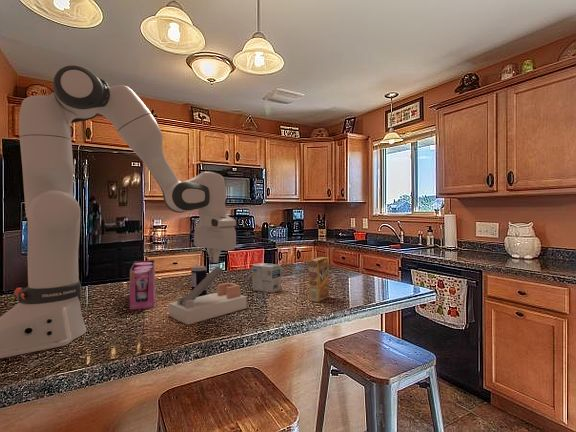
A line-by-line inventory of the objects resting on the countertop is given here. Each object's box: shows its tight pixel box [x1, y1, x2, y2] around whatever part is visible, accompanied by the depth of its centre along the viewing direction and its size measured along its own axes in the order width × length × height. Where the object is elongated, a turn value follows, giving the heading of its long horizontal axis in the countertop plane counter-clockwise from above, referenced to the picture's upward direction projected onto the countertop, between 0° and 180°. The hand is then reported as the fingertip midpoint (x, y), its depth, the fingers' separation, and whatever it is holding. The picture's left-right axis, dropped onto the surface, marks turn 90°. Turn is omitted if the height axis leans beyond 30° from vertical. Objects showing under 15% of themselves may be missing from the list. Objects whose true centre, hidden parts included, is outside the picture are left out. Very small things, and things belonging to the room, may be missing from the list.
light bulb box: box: [251, 262, 282, 294], centre depth 137 cm, size 11×7×11 cm, turn 58°
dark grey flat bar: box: [180, 266, 224, 306], centre depth 106 cm, size 16×4×1 cm
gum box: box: [129, 259, 156, 311], centre depth 122 cm, size 24×8×14 cm, turn 21°
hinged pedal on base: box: [168, 282, 247, 325], centre depth 108 cm, size 22×12×8 cm, turn 136°
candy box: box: [308, 256, 330, 303], centre depth 123 cm, size 9×4×15 cm, turn 147°
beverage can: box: [190, 265, 208, 297], centre depth 126 cm, size 6×6×12 cm
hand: (214, 261), depth 110 cm, fingers closed
